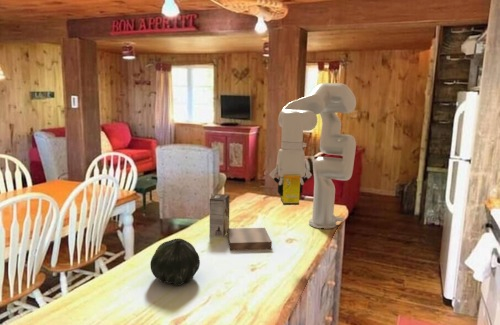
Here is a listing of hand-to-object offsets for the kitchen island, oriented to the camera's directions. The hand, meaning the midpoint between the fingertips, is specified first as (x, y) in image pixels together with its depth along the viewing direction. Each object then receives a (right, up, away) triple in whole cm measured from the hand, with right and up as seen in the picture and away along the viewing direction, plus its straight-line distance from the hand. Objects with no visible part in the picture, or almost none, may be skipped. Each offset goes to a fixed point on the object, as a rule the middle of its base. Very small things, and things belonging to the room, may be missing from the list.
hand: (289, 194), depth 142 cm
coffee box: (-28, -19, +24) cm, 41 cm away
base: (-15, -20, +15) cm, 29 cm away
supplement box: (0, -3, +1) cm, 3 cm away
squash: (-38, -26, -18) cm, 49 cm away
